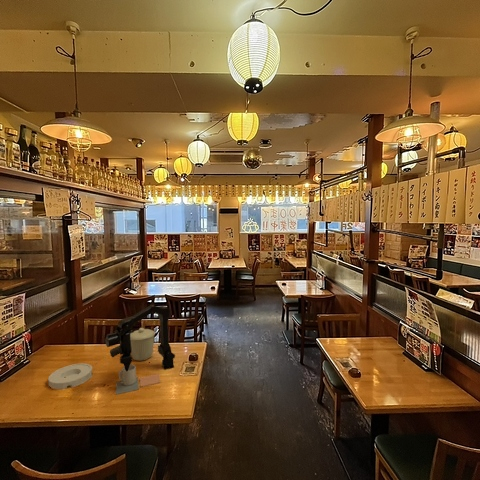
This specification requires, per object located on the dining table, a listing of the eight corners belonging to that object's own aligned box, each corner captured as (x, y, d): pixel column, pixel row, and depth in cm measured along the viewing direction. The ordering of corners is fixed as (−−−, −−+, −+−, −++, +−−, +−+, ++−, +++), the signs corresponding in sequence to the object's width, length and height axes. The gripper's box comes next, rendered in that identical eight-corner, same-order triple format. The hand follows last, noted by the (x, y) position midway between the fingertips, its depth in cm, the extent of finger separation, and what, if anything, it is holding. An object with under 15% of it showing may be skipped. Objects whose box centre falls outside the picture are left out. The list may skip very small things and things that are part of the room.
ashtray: (73, 367, 189) (73, 361, 189) (101, 372, 182) (100, 366, 181) (39, 386, 168) (38, 379, 167) (68, 393, 160) (67, 386, 160)
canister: (148, 349, 213) (146, 321, 212) (160, 356, 200) (159, 327, 199) (124, 357, 200) (122, 328, 199) (136, 366, 187) (134, 335, 186)
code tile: (138, 377, 174) (138, 376, 174) (138, 389, 161) (138, 389, 161) (116, 381, 169) (116, 381, 169) (115, 394, 156) (115, 394, 156)
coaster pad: (158, 374, 176) (158, 373, 176) (160, 382, 167) (160, 382, 167) (139, 378, 172) (139, 377, 172) (140, 387, 163) (140, 386, 163)
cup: (132, 386, 164) (132, 371, 163) (116, 385, 165) (115, 370, 164) (138, 379, 171) (137, 364, 170) (122, 379, 172) (121, 364, 171)
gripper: (111, 338, 172) (112, 363, 173) (109, 350, 155) (111, 378, 156) (130, 334, 176) (132, 359, 177) (131, 346, 159) (132, 373, 160)
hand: (126, 367), depth 167 cm, fingers open, 9 cm apart
